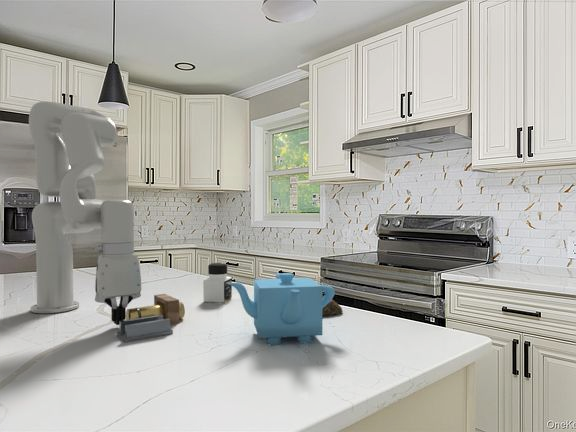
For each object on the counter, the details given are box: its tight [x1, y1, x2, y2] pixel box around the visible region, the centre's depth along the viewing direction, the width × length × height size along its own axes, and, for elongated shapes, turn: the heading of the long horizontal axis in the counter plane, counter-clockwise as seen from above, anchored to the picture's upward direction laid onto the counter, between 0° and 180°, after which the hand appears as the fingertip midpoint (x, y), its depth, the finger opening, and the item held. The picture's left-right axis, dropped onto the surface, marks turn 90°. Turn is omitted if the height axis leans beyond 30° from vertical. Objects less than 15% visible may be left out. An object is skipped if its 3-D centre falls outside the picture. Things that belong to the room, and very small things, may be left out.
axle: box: [125, 301, 186, 320], centre depth 112 cm, size 14×4×4 cm, turn 129°
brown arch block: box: [153, 293, 180, 326], centre depth 114 cm, size 10×3×6 cm, turn 37°
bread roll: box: [322, 295, 343, 318], centre depth 124 cm, size 13×12×5 cm
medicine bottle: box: [203, 262, 233, 304], centre depth 139 cm, size 7×7×12 cm
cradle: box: [116, 315, 174, 343], centre depth 101 cm, size 6×11×3 cm, turn 127°
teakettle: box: [227, 272, 336, 346], centre depth 99 cm, size 19×19×15 cm
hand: (118, 323), depth 107 cm, fingers closed
